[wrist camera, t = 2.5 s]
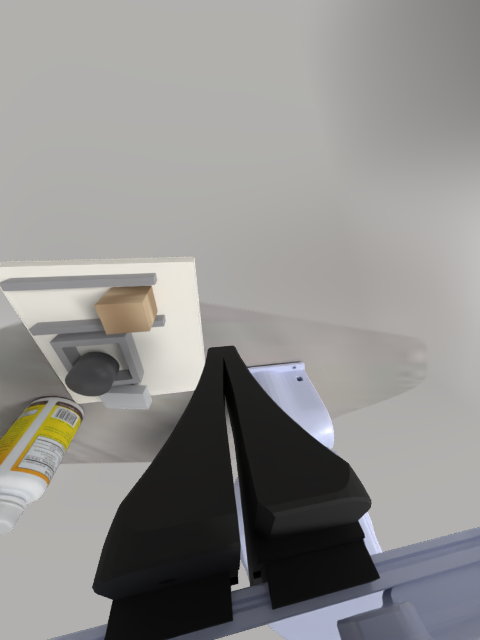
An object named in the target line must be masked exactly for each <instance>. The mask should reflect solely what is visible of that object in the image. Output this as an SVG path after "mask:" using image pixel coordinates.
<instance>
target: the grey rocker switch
mask: <svg viewBox="0 0 480 640" xmlns="http://www.w3.org/2000/svg"><path fill="white" fill-rule="evenodd" d="M99 397H100V399H101V401H102V403H103V405H104V406H105V408H114V409H149V407H150V405H151V402H152V399H151V396H150V393H149V390H148V387H147V386H144V385H115V386H111V388H110V390H109V391H108V392H107V393H105V394H103V395H100V396H99Z"/></svg>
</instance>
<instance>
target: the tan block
mask: <svg viewBox="0 0 480 640" xmlns="http://www.w3.org/2000/svg"><path fill="white" fill-rule="evenodd" d="M95 308H96V310H97V313H98V315H99V318H100V320H101V322H102V325H103V327H104V330H105V332H106V334H120V333H133V332H147V331H150V330H151V328H152V325H153V322H154V320H155V317H156V315H157V312H158V311H157V307H156V302H155V298H154V294H153V289H152V286H132V287H111V288H110V290H109V291H108V292H107V293H106V294H105V295H104V296H103V297H102V298H101V299H100V300H99V301H98V302H97V303H96V304H95Z"/></svg>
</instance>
